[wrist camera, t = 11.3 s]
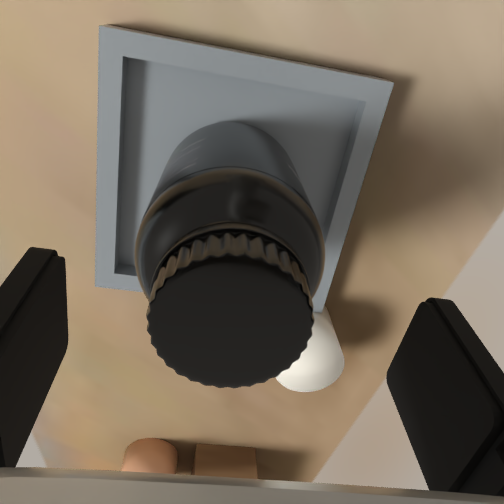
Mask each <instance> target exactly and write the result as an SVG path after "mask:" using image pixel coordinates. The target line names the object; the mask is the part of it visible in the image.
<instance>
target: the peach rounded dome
mask: <svg viewBox="0 0 504 504" xmlns="http://www.w3.org/2000/svg"><path fill="white" fill-rule="evenodd" d="M177 461H178V453H177V450H176V449H175V447H174V446H173V445H171V444H170V443H168V442H167V441H164V440H161V439H156V438H145V439H140V440H137V441H135V442H133V443H131V444H130V445H129V446H128V447H127V449H126V451H125V454H124V459H123V463H122V468H121V471H129V472H147V473H164V474H176V470H177Z"/></svg>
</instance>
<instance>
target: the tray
mask: <svg viewBox="0 0 504 504" xmlns="http://www.w3.org/2000/svg"><path fill="white" fill-rule="evenodd" d="M393 85H394V83H393V82H391V81H389V80H387V79H384V78H380V77H375V76H369V75H364V74H359V73H354V72H349V71H344V70H339V69H333V68H328V67H323V66H318V65H313V64H308V63H303V62H297V61H292V60H287V59H282V58H277V57H272V56H267V55H262V54H256V53H251V52H246V51H241V50H236V49H231V48H226V47H220V46H215V45H210V44H205V43H200V42H195V41H190V40H184V39H179V38H174V37H169V36H164V35H159V34H154V33H148V32H143V31H138V30H133V29H128V28H123V27H118V26H113V25H100V26H99V57H98V122H97V187H96V252H95V287H103V288H111V289H120V290H129V291H137V292H143V290H142V288H141V286H140V283H139V280H138V278H137V273H136V269H135V260H134V250H135V242H136V238H137V234H138V230H139V227H140V224H141V221H142V219H143V216H144V214H145V212H146V209H147V207H148V205H149V203H150V200H151V198H152V196H153V193H154V191H155V189H156V187H157V184H158V182H159V180H160V177H161V175H162V173H163V171H164V168H165V166H166V164H167V162H168V160H169V158H170V156H171V155H172V153H173V151H174V150H175V149H176V147H177V146H178V145H179V144H180V143H181V142H182V141H183V140H184V139H185V138H186V137H187V136H188V135H190V134H191V133H193V132H194V131H196V130H198V129H200V128H202V127H205V126H207V125H211V124H214V123H220V122H239V123H244V124H249V125H252V126H255V127H257V128H259V129H261V130H263V131H265V132H266V133H268V134H269V135H271V136H272V137H273V138H274V139H275V140H277V141H278V142H279V144H280V145H281V146H282V147H283V148H284V150H285V151H286V152H287V154H288V156H289V157H290V159H291V161H292V163H293V165H294V167H295V169H296V172H297V174H298V176H299V178H300V181H301V183H302V185H303V188H304V190H305V192H306V194H307V197H308V199H309V201H310V203H311V206H312V208H313V210H314V213H315V215H316V217H317V219H318V222H319V225H320V228H321V231H322V234H323V239H324V244H325V266H324V272H323V276H322V279H321V282H320V285H319V287H318V289H317V291H316V293H315V295H314V297H313V298H312V302H313V306H314V307H313V312H318V313H322V310H323V307H324V304H325V301H326V298H327V295H328V291H329V288H330V285H331V282H332V279H333V276H334V272H335V269H336V266H337V263H338V260H339V256H340V253H341V250H342V247H343V244H344V241H345V237H346V234H347V231H348V228H349V225H350V222H351V218H352V215H353V212H354V209H355V206H356V202H357V199H358V196H359V193H360V190H361V187H362V183H363V180H364V177H365V174H366V171H367V168H368V164H369V161H370V158H371V155H372V152H373V148H374V145H375V142H376V139H377V136H378V133H379V129H380V126H381V123H382V120H383V117H384V113H385V110H386V107H387V104H388V101H389V98H390V94H391V91H392V88H393Z"/></svg>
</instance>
